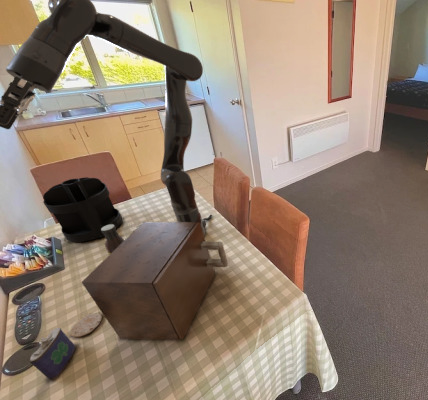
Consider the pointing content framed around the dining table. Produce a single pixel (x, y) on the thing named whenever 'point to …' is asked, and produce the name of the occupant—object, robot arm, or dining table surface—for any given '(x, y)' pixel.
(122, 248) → the cupboard
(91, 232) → the container
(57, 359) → the flask
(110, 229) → the sauce bottle
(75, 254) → the dining table surface
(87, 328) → the flatbread
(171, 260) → the door
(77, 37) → the robot arm
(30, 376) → the dining table surface
